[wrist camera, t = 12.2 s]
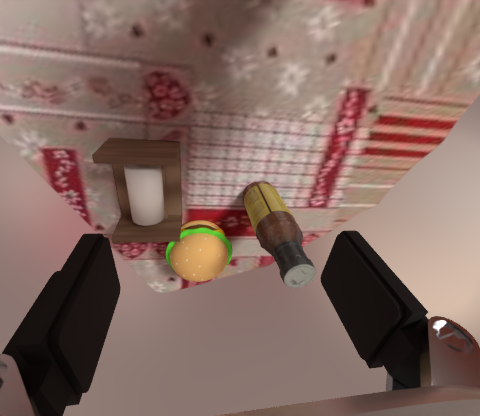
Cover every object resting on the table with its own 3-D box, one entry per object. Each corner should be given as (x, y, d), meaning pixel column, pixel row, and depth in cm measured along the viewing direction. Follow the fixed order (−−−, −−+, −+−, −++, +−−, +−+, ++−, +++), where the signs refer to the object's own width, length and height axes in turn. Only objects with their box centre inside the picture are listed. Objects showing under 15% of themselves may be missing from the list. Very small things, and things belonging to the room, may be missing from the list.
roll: (129, 156, 36) (118, 169, 32) (163, 158, 37) (157, 171, 33) (136, 208, 41) (128, 225, 37) (167, 209, 42) (162, 226, 38)
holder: (109, 137, 35) (92, 155, 30) (179, 141, 37) (176, 158, 31) (124, 216, 43) (112, 242, 37) (182, 216, 45) (179, 241, 39)
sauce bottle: (246, 212, 46) (273, 302, 30) (238, 184, 43) (264, 269, 26) (279, 202, 46) (324, 287, 30) (274, 174, 43) (322, 252, 26)
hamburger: (169, 260, 50) (164, 296, 43) (167, 212, 44) (160, 244, 37) (226, 259, 52) (231, 293, 45) (232, 214, 46) (238, 244, 39)
